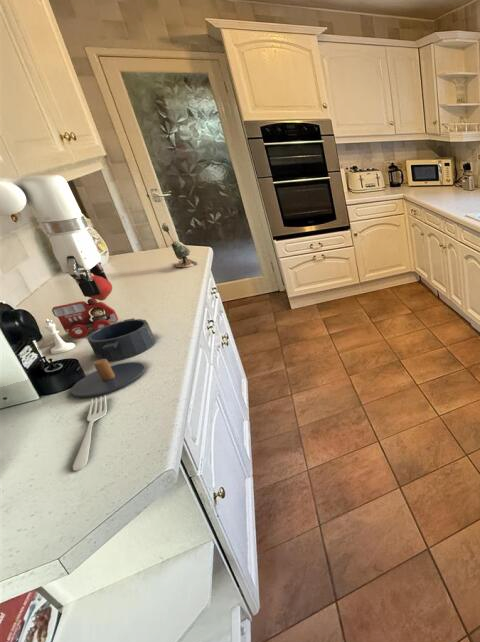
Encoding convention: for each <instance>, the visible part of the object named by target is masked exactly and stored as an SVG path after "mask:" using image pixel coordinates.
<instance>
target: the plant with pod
mask: <svg viewBox="0 0 480 642" xmlns="http://www.w3.org/2000/svg"><path fill="white" fill-rule="evenodd" d="M161 230H162V231H164V232H166V233H167V234H168V236H169V238H170V239H171V241H172V243H171V247H172V251H173V252H174V255H175V257H176V258H177V259H178V261H177V263H175V264H174V266H175V267H176V268H191V267H193V266H196V265H198V262H197V261H195V260H191V259H190V258H189V257H188V256H190V254H191V250H190V248H189V247H188V245H186V244H184V243H183V242H181V241H177V240H176V241H174V239H173V238H172V236H171V235H170V229H169V226H168V224H167V223H166V222H163V223H162V226H161Z"/></svg>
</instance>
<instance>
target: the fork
mask: <svg viewBox="0 0 480 642" xmlns="http://www.w3.org/2000/svg"><path fill="white" fill-rule="evenodd" d="M103 397H104V398H102V396H100V397H99V406H98V397H95V402H94V399H93V398H91V400H90V405H89V409H88V414H87V417H86V421H87V422H88V426H87V428H86V432H85V434H84V438H83V440H82V442H81V445H80V447H79V450H78V452H77V454H76V456H75V459H74V462H73V464H72V470H73V471H75V472H77V471H80V470H82V469H83V468H84V467H85V466H86V464H87V462H88V461H89V454H90V449H91V448H90V446H91V440H92V439H91V437H92V429H93V424H94V422H96V421H98V420H100V419H101V418H103V417H105V415H106V414H107V413H108V412H107V411H108V408H107V407H108V406H107V396H106V394H104V396H103ZM93 404H94V405H93ZM93 406H94V409H93ZM102 408H103V409H102ZM97 409H98V412H97ZM92 410H93V411H92ZM92 412H93V413H92Z"/></svg>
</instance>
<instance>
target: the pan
mask: <svg viewBox="0 0 480 642" xmlns="http://www.w3.org/2000/svg"><path fill="white" fill-rule="evenodd" d="M86 339H87V341H88V343H89V346H90V347H91V349H92V351H93V353H94V354H95V356H96V358H97V361H98V360H101V359H107V361H108V362H109V363H110V362H116V361H123V360H125V359H129V358H132V357H135V356H138V355H140V354H142V353H144V352H146V351H148V350H149V349H151V348H152V347H154V346H155V344H156V338H155V336H154V334H153V331H152V329H151V327H150V325H149V322H148V321H147V320H146V319H141V318H136V319H135V318H133V317H132V318H128V319H124V320H121V321H117V322H114V323H110V325H108V326H105V327H103V328H100V329H98V330H96V331H94V330H93V332H91V333H90V334H89V335H88V336H87V337H86Z"/></svg>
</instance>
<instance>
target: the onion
mask: <svg viewBox="0 0 480 642" xmlns="http://www.w3.org/2000/svg"><path fill="white" fill-rule="evenodd" d="M91 277H92V280H95V282H96V284H97V286H98V288H99V290H100V292H101V294H100V295H94V296H88V297H87V298H89V299H91V298H93V299H96V300H97V301H100V302H102V301H104V300H106V299H107V298H108V297H109V296H110V294H111V293H112V291H113V284H112V283H111V282H110V281H109V279H108V278H107V279H108V280H107V279H105V278H103V277H100V276H96V275H94V274H93V273H91Z"/></svg>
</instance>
